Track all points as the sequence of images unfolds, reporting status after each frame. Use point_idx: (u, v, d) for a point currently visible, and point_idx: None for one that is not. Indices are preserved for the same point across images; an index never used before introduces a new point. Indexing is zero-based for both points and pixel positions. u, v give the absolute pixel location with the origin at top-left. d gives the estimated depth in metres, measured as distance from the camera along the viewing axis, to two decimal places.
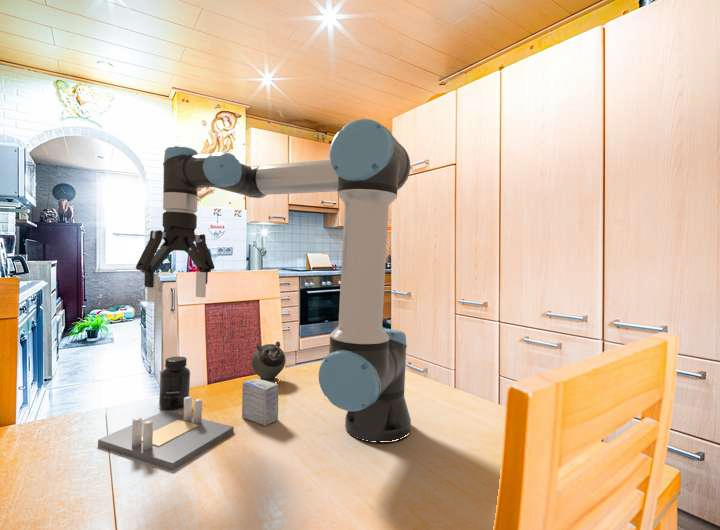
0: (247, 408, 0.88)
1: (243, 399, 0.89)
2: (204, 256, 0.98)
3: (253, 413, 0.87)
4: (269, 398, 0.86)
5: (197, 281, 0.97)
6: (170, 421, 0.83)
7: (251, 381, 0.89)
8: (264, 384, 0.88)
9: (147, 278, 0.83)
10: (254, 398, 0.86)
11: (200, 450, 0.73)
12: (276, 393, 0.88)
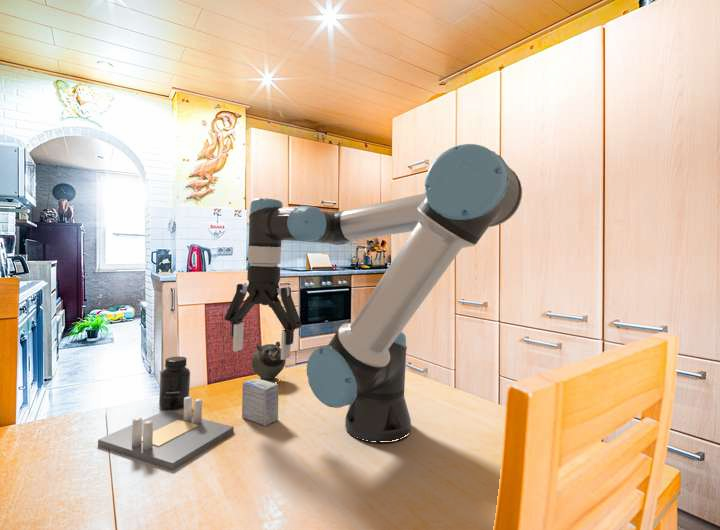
0: (247, 408, 0.88)
1: (243, 399, 0.89)
2: None
3: (253, 413, 0.87)
4: (269, 398, 0.86)
5: None
6: (170, 421, 0.83)
7: (251, 381, 0.89)
8: (264, 384, 0.88)
9: None
10: (254, 398, 0.86)
11: (200, 450, 0.73)
12: (276, 393, 0.88)
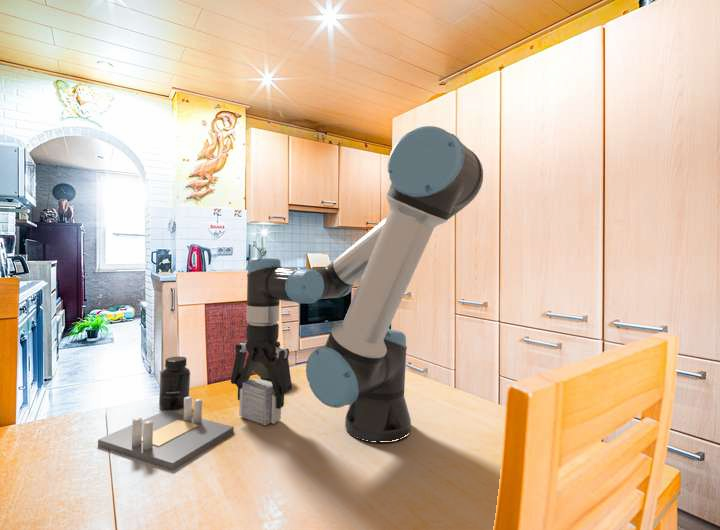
0: (247, 408, 0.88)
1: (243, 399, 0.88)
2: None
3: (253, 413, 0.87)
4: (269, 398, 0.86)
5: None
6: (170, 421, 0.83)
7: (251, 381, 0.89)
8: (264, 384, 0.88)
9: None
10: (254, 397, 0.86)
11: (200, 450, 0.73)
12: None
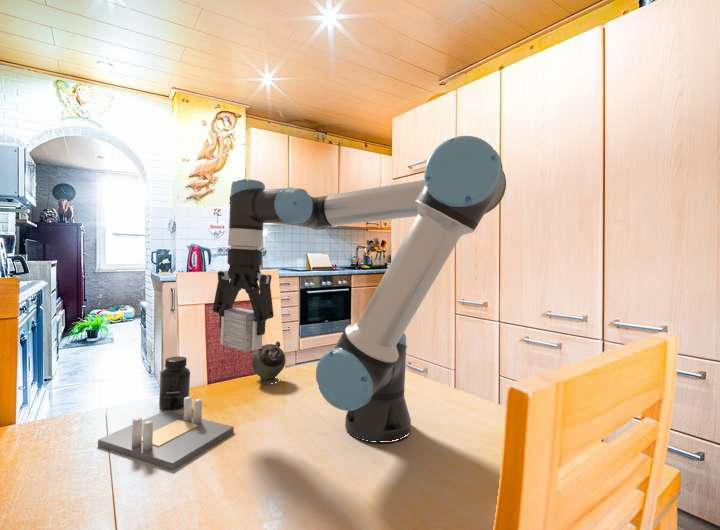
0: (228, 335, 0.85)
1: (224, 326, 0.86)
2: None
3: (234, 340, 0.84)
4: (250, 324, 0.83)
5: None
6: (170, 421, 0.83)
7: (233, 309, 0.87)
8: (246, 311, 0.85)
9: None
10: (235, 324, 0.84)
11: (200, 450, 0.73)
12: None
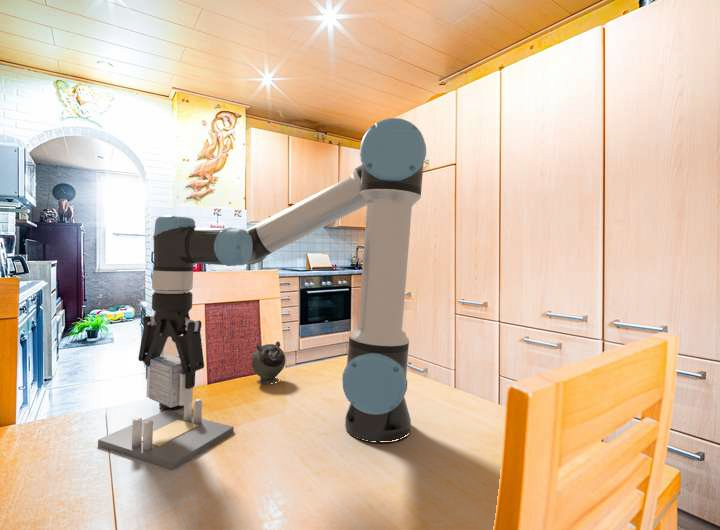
0: (154, 388, 0.77)
1: (150, 378, 0.78)
2: None
3: (160, 393, 0.76)
4: (177, 377, 0.75)
5: None
6: (170, 421, 0.83)
7: (161, 357, 0.79)
8: (174, 360, 0.77)
9: None
10: (161, 376, 0.76)
11: (200, 450, 0.73)
12: None
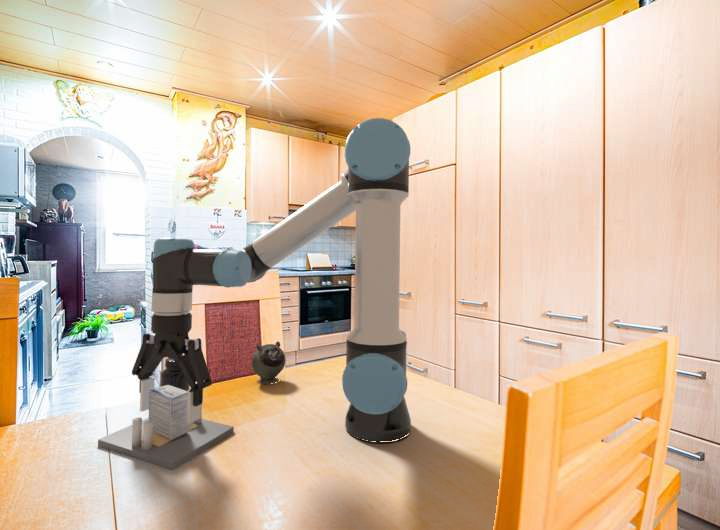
0: (153, 419, 0.77)
1: (149, 409, 0.78)
2: None
3: (159, 425, 0.76)
4: (177, 408, 0.75)
5: None
6: None
7: (159, 388, 0.79)
8: (173, 392, 0.77)
9: None
10: (160, 407, 0.76)
11: (200, 450, 0.73)
12: None
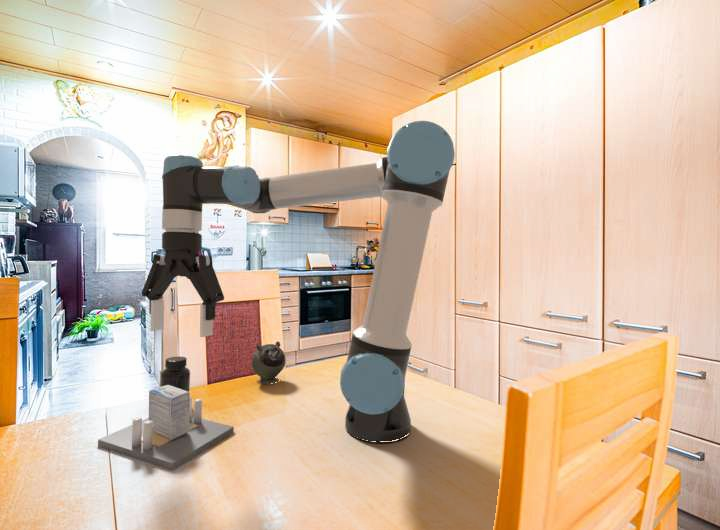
0: (153, 419, 0.77)
1: (149, 409, 0.78)
2: None
3: (159, 425, 0.76)
4: (177, 408, 0.75)
5: None
6: None
7: (159, 388, 0.79)
8: (173, 392, 0.77)
9: None
10: (160, 407, 0.76)
11: (200, 450, 0.73)
12: (187, 403, 0.77)
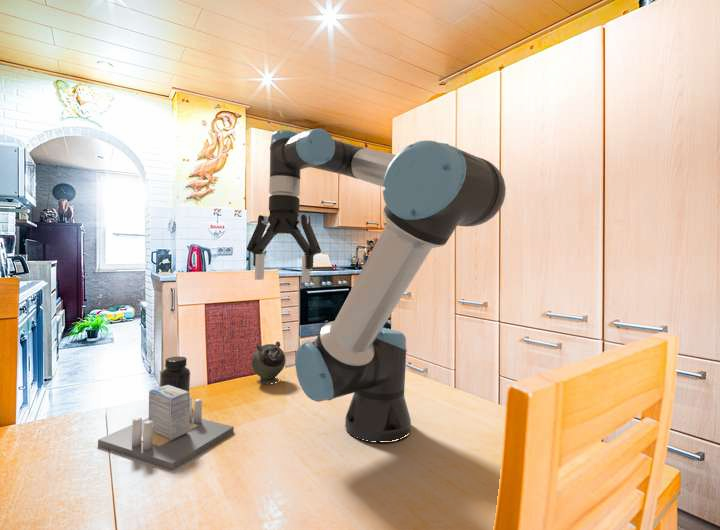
0: (153, 419, 0.77)
1: (149, 409, 0.78)
2: None
3: (159, 425, 0.76)
4: (177, 408, 0.75)
5: None
6: None
7: (159, 388, 0.79)
8: (173, 392, 0.77)
9: None
10: (160, 407, 0.76)
11: (200, 450, 0.73)
12: (187, 403, 0.77)
